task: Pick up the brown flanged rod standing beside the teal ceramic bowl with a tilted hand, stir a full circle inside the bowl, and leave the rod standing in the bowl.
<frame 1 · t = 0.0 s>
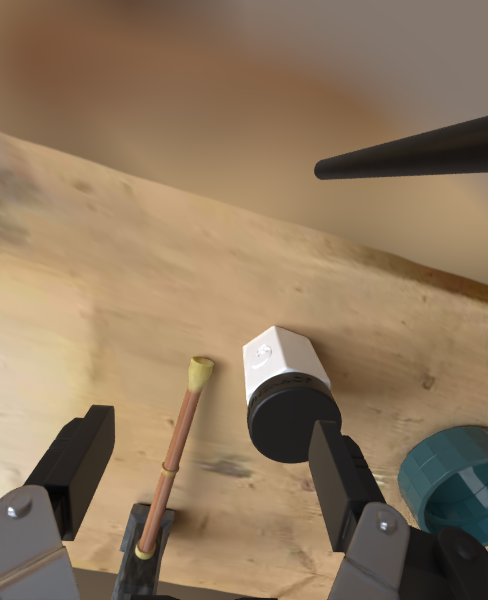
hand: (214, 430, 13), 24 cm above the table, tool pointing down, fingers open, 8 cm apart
hammer: (172, 451, 44), on the table
bowl: (450, 467, 46), on the table
jar: (276, 357, 40), on the table
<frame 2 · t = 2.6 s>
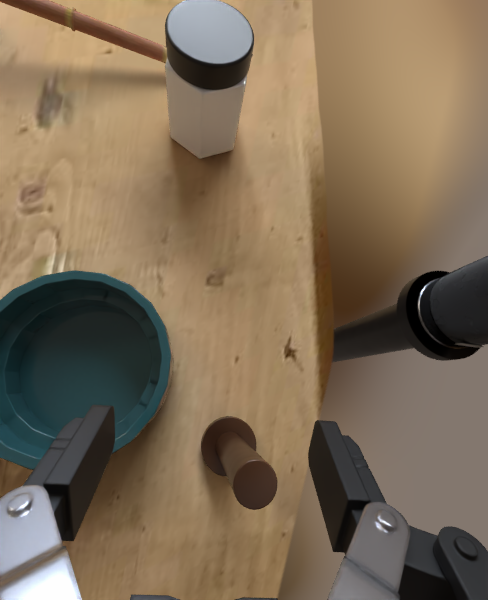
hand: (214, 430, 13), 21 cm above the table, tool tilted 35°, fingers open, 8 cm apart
hammer: (68, 54, 41), on the table
bowl: (91, 367, 32), on the table
jar: (204, 130, 41), on the table
brown flanged rod: (228, 444, 32), on the table
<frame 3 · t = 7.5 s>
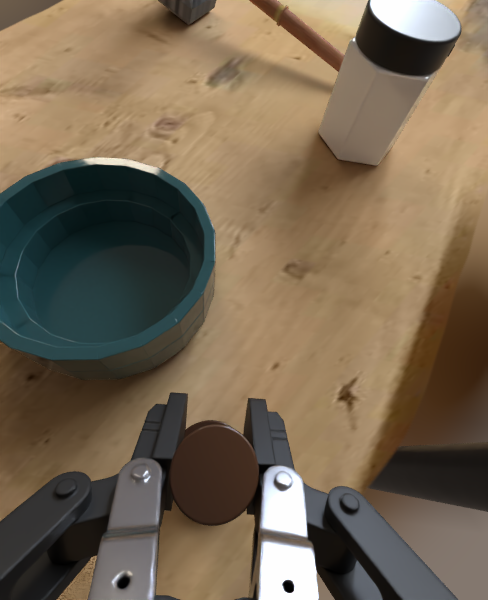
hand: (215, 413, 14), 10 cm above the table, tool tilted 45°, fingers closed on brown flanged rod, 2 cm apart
hammer: (262, 49, 44), on the table
bowl: (117, 285, 27), on the table
jar: (354, 141, 38), on the table
brown flanged rod: (209, 463, 22), on the table, touching gripper
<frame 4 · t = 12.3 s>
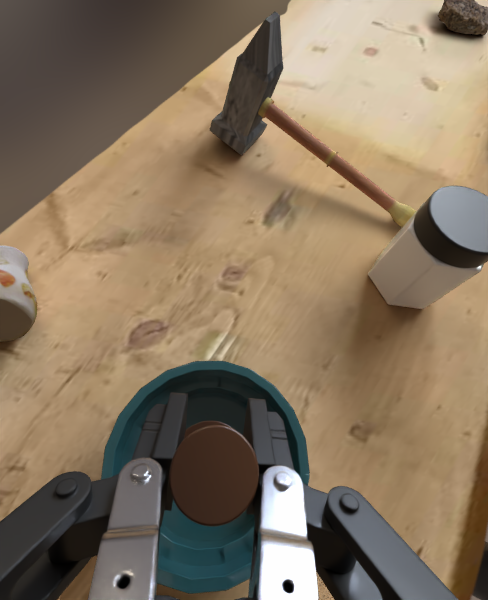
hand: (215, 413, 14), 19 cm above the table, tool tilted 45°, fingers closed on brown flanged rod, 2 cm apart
hammer: (309, 177, 48), on the table
concrete sample: (457, 27, 72), on the table
mug: (11, 301, 35), on the table
bowl: (208, 460, 30), on the table
jar: (400, 280, 42), on the table
brown flanged rod: (209, 463, 22), point 9 cm above the table, touching gripper
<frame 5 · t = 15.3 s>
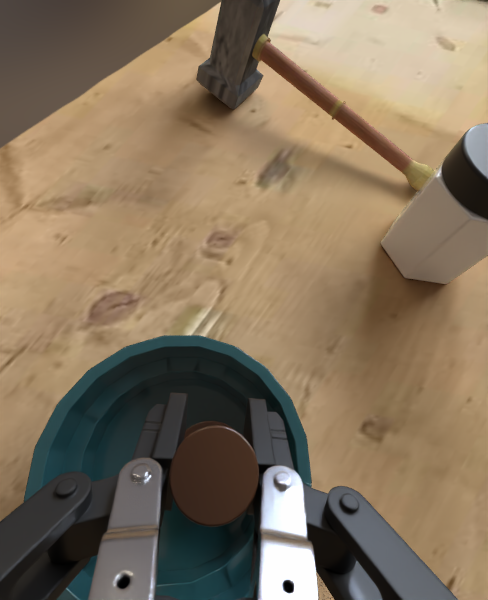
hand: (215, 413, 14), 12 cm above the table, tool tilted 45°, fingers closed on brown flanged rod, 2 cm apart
hammer: (311, 136, 41), on the table
bowl: (182, 463, 24), on the table
jar: (418, 251, 35), on the table
brown flanged rod: (209, 463, 22), point 2 cm above the table, touching gripper
when the fingers open (11 cm above the table, at t = 17.4 s): brown flanged rod stays where it is, resting on bowl.
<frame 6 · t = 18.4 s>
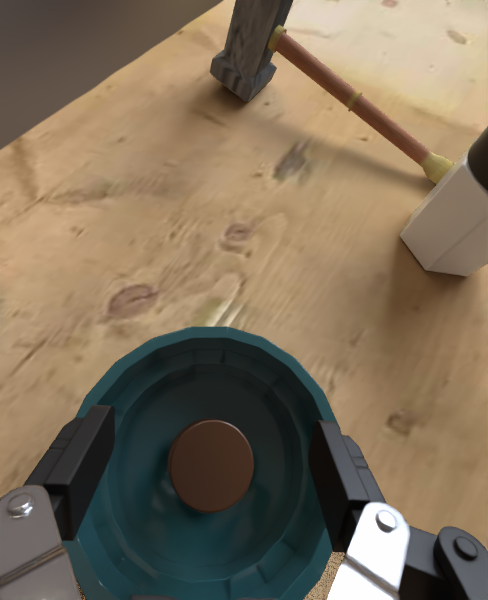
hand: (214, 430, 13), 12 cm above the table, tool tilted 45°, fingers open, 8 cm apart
hammer: (326, 129, 41), on the table
bowl: (208, 458, 23), on the table
jar: (438, 243, 35), on the table
brown flanged rod: (207, 459, 23), point 1 cm above the table, touching bowl
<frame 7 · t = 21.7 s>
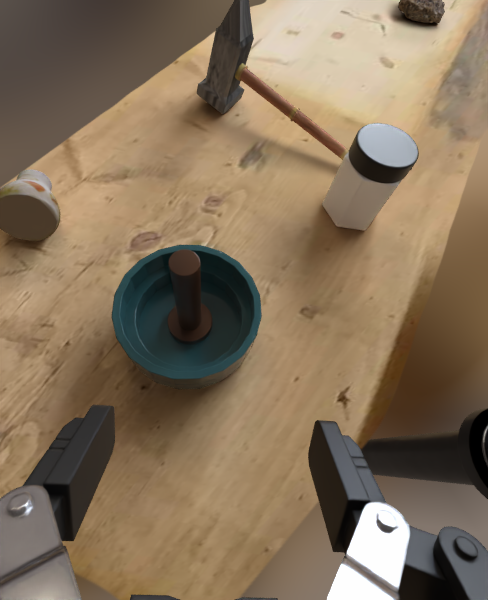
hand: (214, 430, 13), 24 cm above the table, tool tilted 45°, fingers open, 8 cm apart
hammer: (279, 133, 58), on the table
concrete sample: (416, 17, 82), on the table
mug: (38, 215, 45), on the table
bowl: (190, 325, 40), on the table
jar: (348, 210, 52), on the table
brown flanged rod: (190, 323, 40), point 1 cm above the table, touching bowl
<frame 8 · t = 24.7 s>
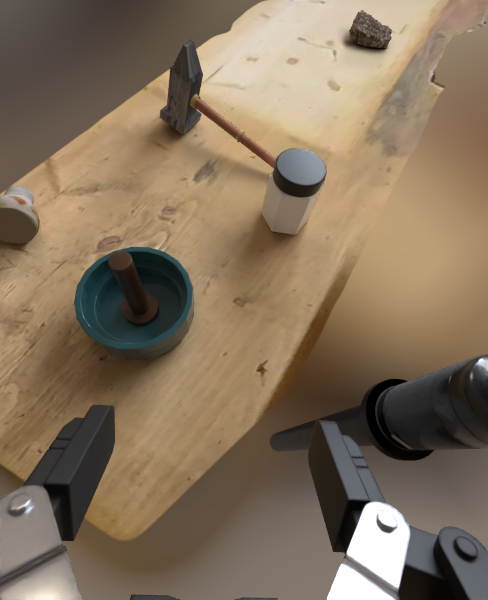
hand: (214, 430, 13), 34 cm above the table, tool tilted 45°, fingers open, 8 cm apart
hammer: (230, 151, 68), on the table
concrete sample: (367, 42, 92), on the table
mug: (22, 222, 55), on the table
bowl: (142, 311, 50), on the table
jar: (284, 217, 62), on the table
brown flanged rod: (141, 309, 50), point 1 cm above the table, touching bowl
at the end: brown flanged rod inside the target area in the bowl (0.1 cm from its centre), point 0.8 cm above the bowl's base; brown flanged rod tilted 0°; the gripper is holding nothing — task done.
